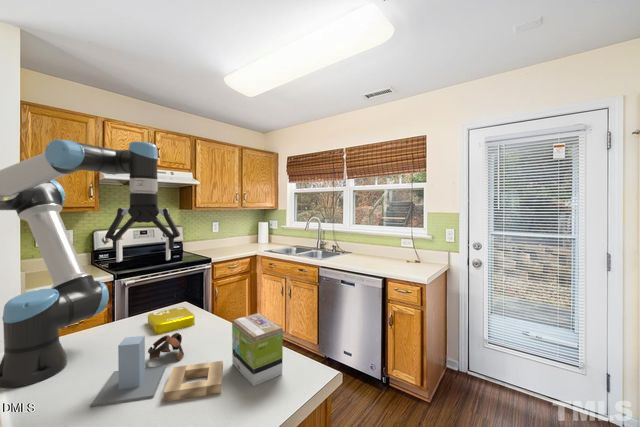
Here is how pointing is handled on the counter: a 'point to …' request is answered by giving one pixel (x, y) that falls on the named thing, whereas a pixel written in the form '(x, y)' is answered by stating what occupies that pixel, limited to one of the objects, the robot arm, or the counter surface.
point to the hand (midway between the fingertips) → (144, 260)
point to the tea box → (257, 348)
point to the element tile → (170, 320)
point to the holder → (194, 389)
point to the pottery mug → (167, 346)
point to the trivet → (116, 395)
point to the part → (131, 362)
